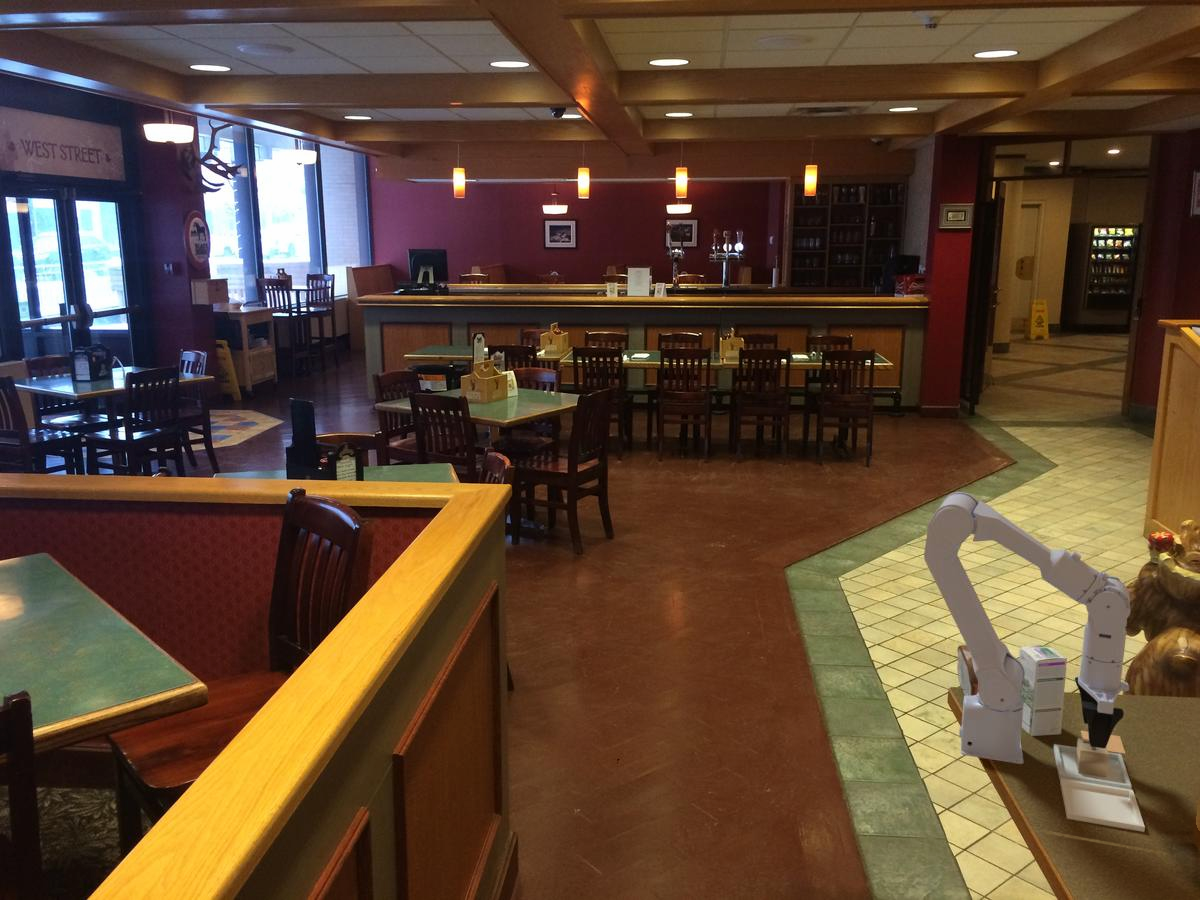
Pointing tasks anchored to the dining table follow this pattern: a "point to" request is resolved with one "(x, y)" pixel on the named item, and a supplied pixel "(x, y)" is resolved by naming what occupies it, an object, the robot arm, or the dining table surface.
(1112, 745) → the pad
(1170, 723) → the dining table surface
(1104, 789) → the near tray
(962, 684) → the tin
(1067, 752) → the far tray
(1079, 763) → the letter cube
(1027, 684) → the syrup box
